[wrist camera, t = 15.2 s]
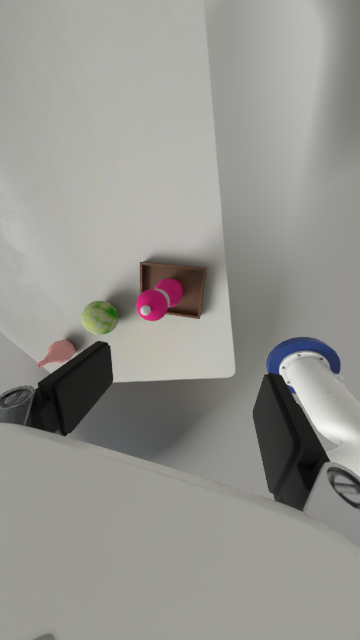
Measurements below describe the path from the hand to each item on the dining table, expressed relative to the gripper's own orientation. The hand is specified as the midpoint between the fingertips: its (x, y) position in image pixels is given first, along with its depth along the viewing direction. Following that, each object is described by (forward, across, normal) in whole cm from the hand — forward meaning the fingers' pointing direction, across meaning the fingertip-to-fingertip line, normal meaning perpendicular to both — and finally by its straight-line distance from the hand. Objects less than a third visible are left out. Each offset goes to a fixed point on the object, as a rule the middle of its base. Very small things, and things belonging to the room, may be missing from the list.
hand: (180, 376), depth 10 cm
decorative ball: (+38, +30, +13) cm, 50 cm away
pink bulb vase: (+38, +48, +29) cm, 68 cm away
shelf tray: (+38, +10, +3) cm, 39 cm away
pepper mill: (+38, +10, +3) cm, 39 cm away
